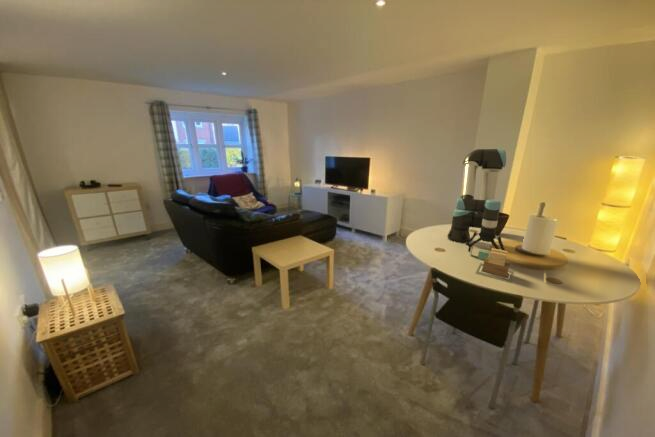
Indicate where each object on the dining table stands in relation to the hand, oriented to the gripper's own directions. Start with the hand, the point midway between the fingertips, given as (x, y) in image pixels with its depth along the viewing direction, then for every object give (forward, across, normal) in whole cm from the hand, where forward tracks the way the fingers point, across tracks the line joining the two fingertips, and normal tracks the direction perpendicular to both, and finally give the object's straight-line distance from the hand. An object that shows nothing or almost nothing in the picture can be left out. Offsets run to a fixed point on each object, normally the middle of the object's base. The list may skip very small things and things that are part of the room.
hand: (482, 259), depth 155 cm
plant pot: (0, -1, +60) cm, 60 cm away
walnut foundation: (-1, +8, -17) cm, 19 cm away
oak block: (-7, +8, -17) cm, 20 cm away
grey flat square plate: (0, +8, -17) cm, 19 cm away
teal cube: (0, 0, 0) cm, 0 cm away
